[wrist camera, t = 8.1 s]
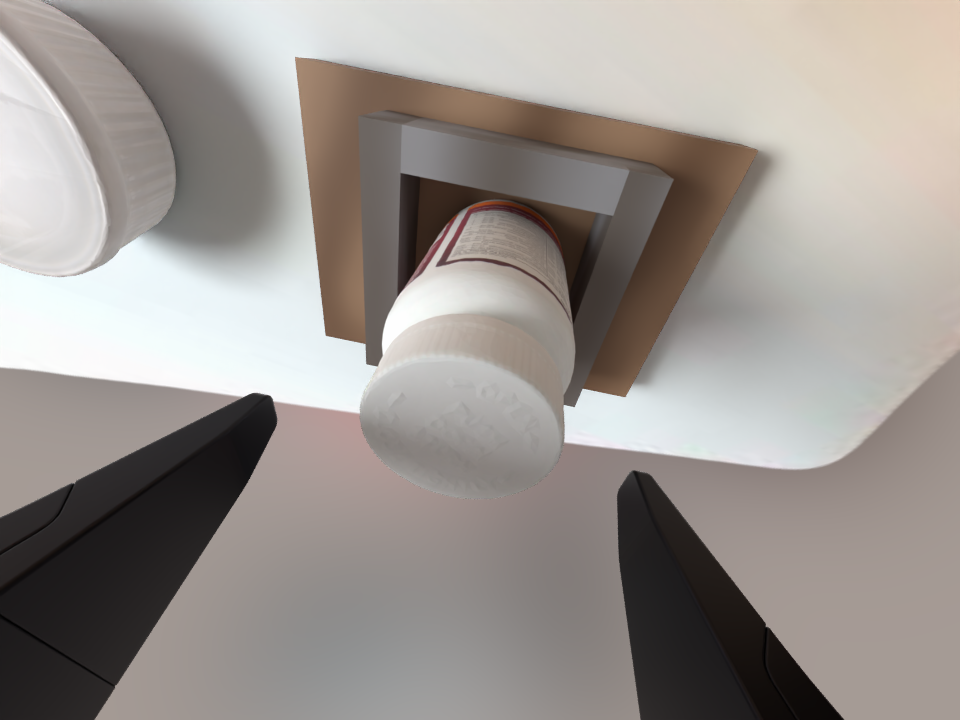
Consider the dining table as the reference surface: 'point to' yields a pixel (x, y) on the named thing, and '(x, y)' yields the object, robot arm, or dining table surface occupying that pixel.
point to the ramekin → (73, 146)
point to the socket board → (507, 176)
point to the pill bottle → (476, 359)
